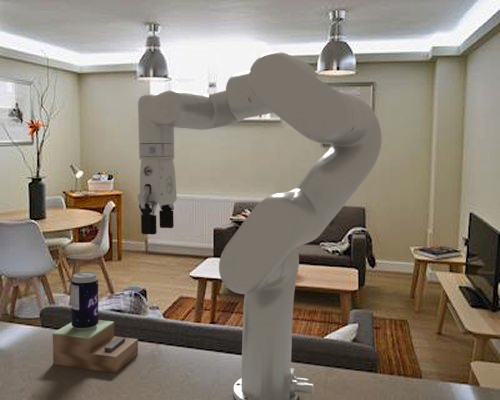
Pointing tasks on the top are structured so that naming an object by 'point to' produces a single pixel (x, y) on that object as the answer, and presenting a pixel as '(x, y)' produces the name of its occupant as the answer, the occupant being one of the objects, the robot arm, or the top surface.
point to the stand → (93, 348)
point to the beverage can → (84, 300)
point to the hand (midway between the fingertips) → (158, 230)
